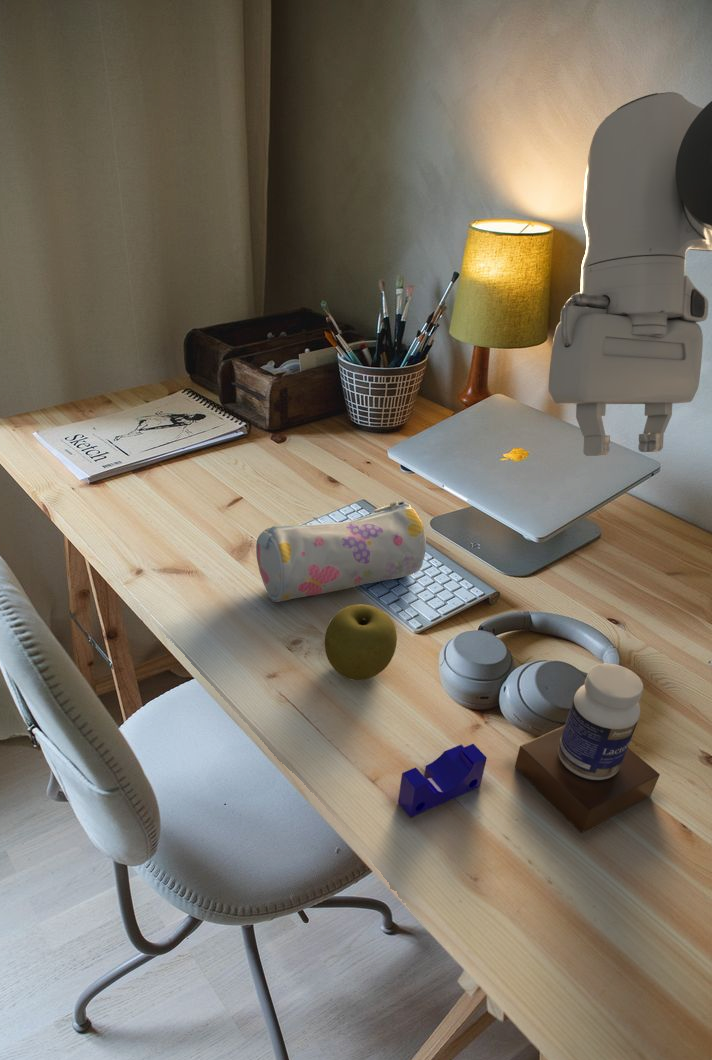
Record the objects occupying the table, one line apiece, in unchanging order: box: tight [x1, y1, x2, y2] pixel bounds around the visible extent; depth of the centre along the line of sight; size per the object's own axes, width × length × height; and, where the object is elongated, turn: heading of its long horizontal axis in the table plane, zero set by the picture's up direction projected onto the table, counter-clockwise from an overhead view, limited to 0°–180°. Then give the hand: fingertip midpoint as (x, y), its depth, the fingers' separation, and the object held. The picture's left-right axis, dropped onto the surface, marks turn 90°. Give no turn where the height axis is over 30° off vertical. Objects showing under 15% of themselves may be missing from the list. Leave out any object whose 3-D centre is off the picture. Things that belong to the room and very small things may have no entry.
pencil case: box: [255, 500, 427, 603], centre depth 101 cm, size 21×9×10 cm, turn 113°
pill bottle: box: [558, 662, 644, 780], centre depth 74 cm, size 6×6×10 cm
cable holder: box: [397, 743, 488, 818], centre depth 76 cm, size 8×4×4 cm, turn 118°
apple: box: [323, 603, 398, 681], centre depth 89 cm, size 8×8×7 cm
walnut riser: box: [514, 725, 661, 833], centre depth 78 cm, size 9×9×3 cm
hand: (624, 453), depth 78 cm, fingers open, 8 cm apart
